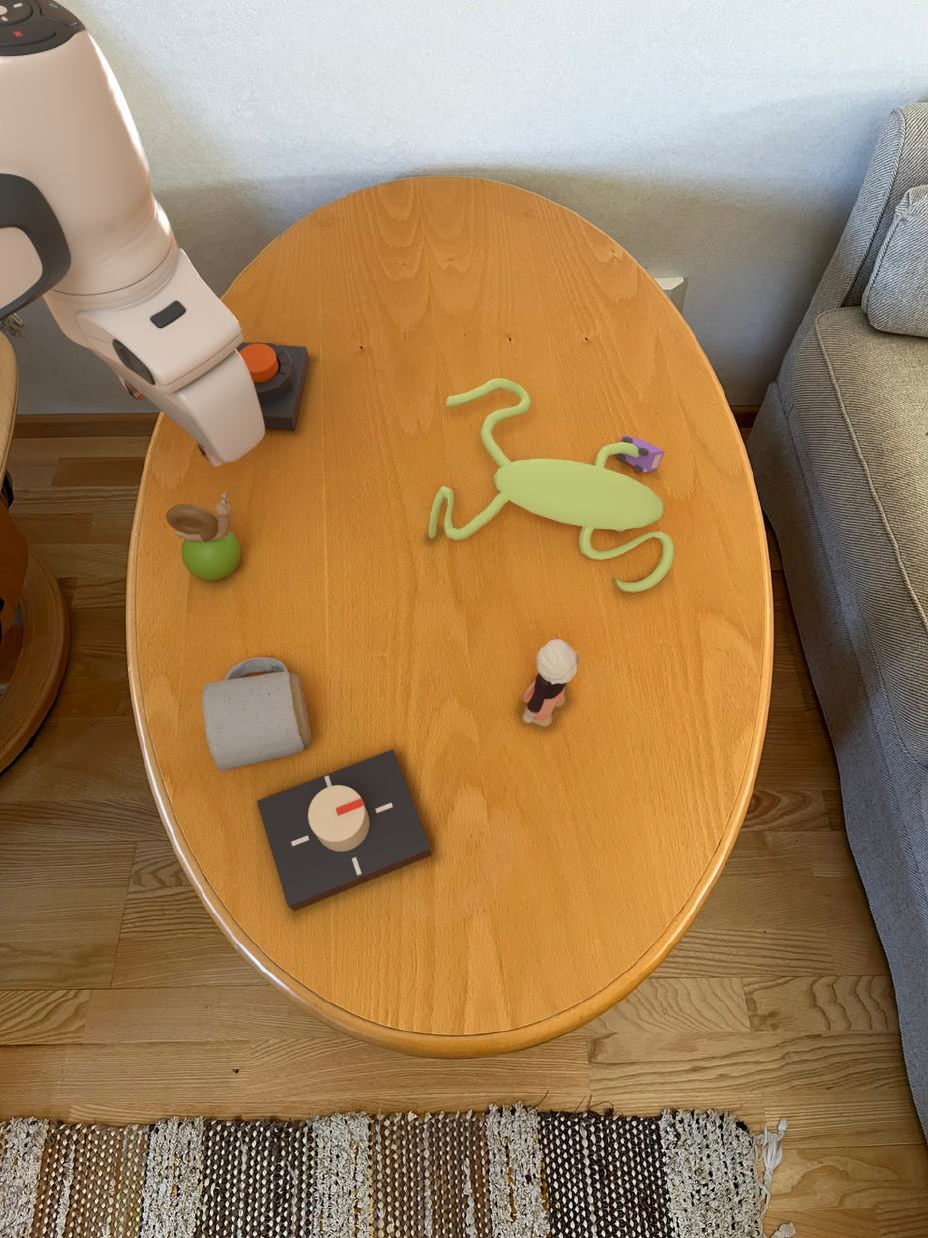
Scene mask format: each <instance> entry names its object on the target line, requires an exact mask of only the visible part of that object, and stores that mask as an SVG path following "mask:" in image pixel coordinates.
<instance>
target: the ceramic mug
mask: <svg viewBox="0 0 928 1238" xmlns="http://www.w3.org/2000/svg"><path fill="white" fill-rule="evenodd" d="M265 672H268V673H265ZM254 673H263V674H260V675H252V676H246V675H249V674H254ZM244 676H245V677H244ZM201 705H202V715H203V724H204V730H205V737H206V742H207V746H208V748H209V752H210V755H211V759H212V761H213V763H214V765H215V767H216V768H217V770H218V771H220V772H226V771H230V770H234V769H235V770H236V769H240V768H243V767H247V766H251V765H256V764H261V763H265V762H269V761H272V760H276V759H282V758H287V757H291V756H294V755H297V754H299V753H301V752H304V751H307V750H308V749H309V747H310V746H311V744H312V733H311V725H310V719H309V714H308V713H309V712H308V708H307V701H306V697H305V692H304V688H303V684H302V681H301V678H300V676H299V675H298V674H297V673H295V672H290V671H289V670H288V667H287V666H286V664H285V663H283V661H281V660H279V659H277V658H273V657H269V656H268V657H266V656H265V657H264V656H259V657H252V658H248V659H244V660H243V661H240V662H238V663H237V664H235V665H233V666H232V667H231V668H230V669H229V670H228V672H227V673H226V674H225V676H224V677H223V680H216V681H210V682H207V683H204V685H203V688H202V695H201Z"/></svg>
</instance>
